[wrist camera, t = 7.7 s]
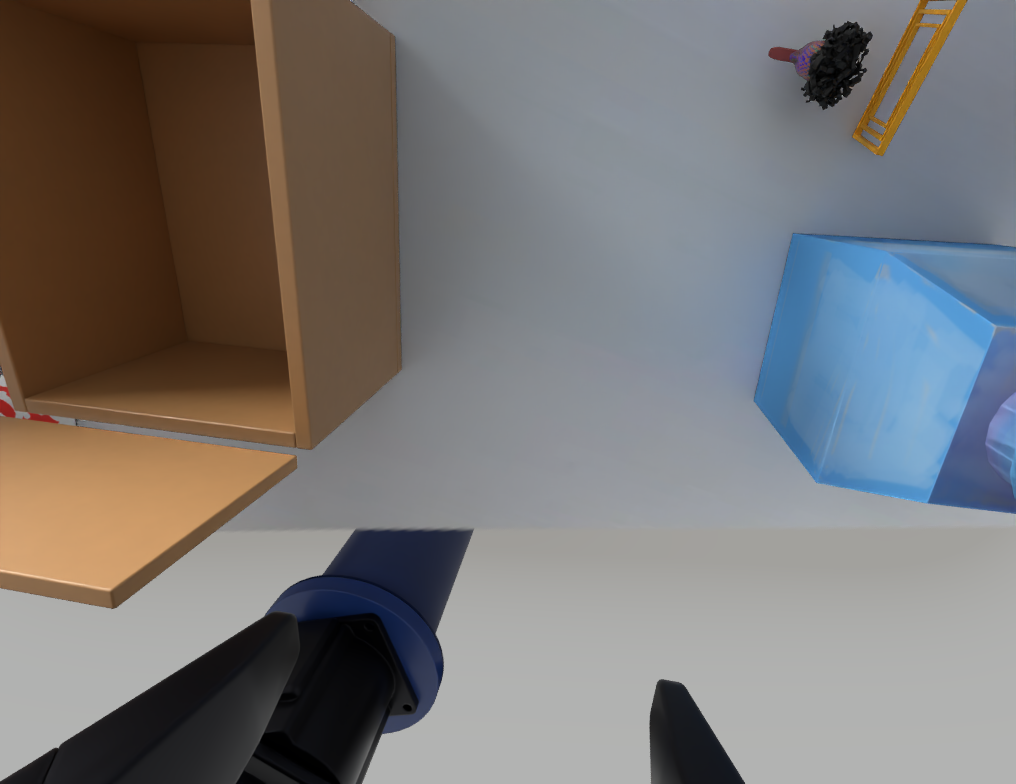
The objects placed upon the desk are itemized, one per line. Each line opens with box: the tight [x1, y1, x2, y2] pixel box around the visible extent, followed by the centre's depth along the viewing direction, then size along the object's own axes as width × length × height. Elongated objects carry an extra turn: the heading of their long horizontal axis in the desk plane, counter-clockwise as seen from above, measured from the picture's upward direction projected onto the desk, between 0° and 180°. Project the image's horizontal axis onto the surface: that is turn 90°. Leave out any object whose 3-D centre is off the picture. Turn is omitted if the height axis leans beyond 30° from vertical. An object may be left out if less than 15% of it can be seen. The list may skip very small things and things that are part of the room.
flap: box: [0, 416, 297, 609], centre depth 12 cm, size 6×10×1 cm
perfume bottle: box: [754, 233, 1016, 514], centre depth 13 cm, size 6×6×12 cm
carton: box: [0, 0, 402, 450], centre depth 17 cm, size 12×10×8 cm
